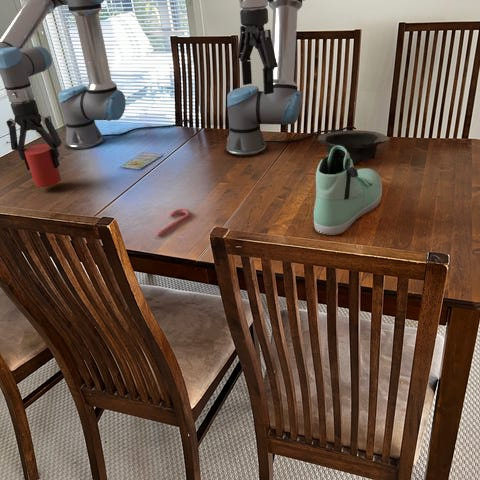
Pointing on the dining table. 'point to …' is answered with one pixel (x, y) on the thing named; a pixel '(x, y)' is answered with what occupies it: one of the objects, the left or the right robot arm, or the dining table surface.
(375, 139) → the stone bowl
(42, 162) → the can
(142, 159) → the baking ingredient package
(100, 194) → the dining table surface
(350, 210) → the sneaker
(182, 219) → the candy cane
